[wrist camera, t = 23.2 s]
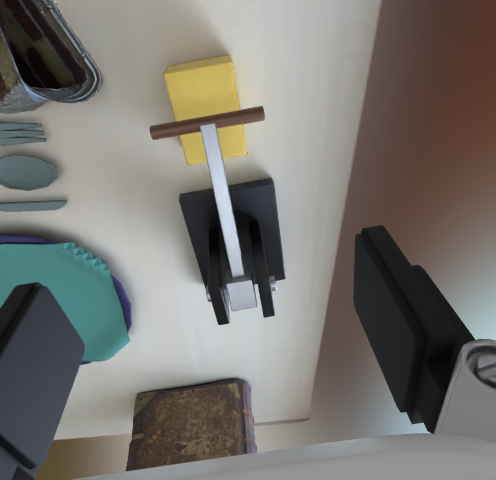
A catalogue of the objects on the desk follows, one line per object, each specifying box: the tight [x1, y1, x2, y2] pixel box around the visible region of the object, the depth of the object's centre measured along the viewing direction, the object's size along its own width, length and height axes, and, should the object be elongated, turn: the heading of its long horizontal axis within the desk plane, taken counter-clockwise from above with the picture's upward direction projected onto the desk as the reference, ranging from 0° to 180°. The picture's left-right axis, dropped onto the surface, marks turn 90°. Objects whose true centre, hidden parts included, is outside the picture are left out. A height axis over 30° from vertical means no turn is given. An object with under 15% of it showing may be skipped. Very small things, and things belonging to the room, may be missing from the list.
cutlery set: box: [0, 122, 131, 365], centre depth 37 cm, size 20×30×2 cm, turn 0°
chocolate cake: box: [0, 0, 102, 114], centre depth 25 cm, size 10×7×12 cm
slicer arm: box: [150, 106, 265, 311], centre depth 28 cm, size 16×8×2 cm, turn 9°
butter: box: [163, 55, 247, 165], centre depth 29 cm, size 5×7×3 cm
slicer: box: [179, 178, 285, 325], centre depth 34 cm, size 12×9×10 cm
